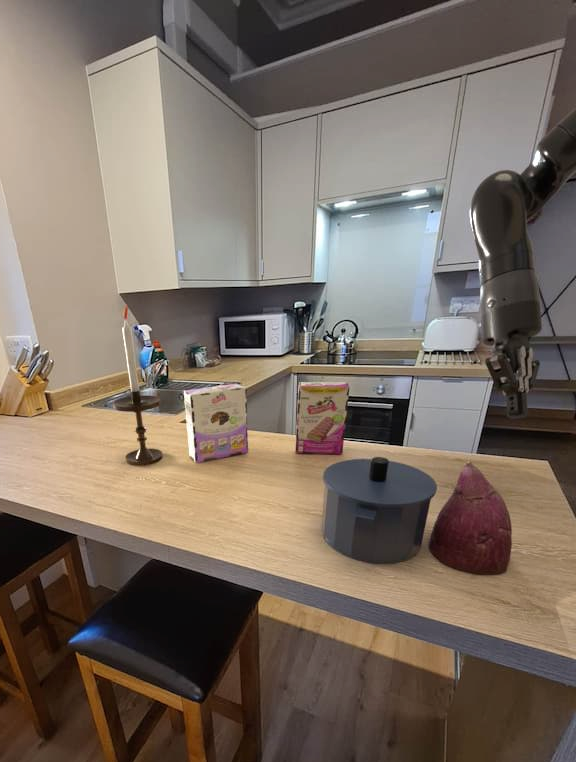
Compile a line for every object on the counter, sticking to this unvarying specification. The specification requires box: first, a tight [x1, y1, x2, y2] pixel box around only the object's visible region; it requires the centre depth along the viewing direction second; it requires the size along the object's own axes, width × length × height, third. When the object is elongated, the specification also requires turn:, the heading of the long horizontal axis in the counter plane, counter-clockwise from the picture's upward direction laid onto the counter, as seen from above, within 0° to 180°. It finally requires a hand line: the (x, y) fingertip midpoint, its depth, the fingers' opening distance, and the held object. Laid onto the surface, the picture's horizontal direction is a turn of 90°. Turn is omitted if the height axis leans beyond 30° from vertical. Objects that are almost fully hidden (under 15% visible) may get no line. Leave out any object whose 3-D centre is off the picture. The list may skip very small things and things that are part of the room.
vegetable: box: [428, 460, 513, 575], centre depth 55 cm, size 10×10×15 cm
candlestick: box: [112, 303, 164, 467], centre depth 90 cm, size 11×11×35 cm
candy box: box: [183, 383, 249, 464], centre depth 93 cm, size 14×6×16 cm, turn 111°
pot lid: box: [322, 456, 438, 507], centre depth 58 cm, size 16×16×4 cm
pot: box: [320, 484, 432, 565], centre depth 60 cm, size 15×20×10 cm
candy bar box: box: [295, 381, 350, 455], centre depth 92 cm, size 11×5×16 cm, turn 80°
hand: (517, 417), depth 62 cm, fingers closed
